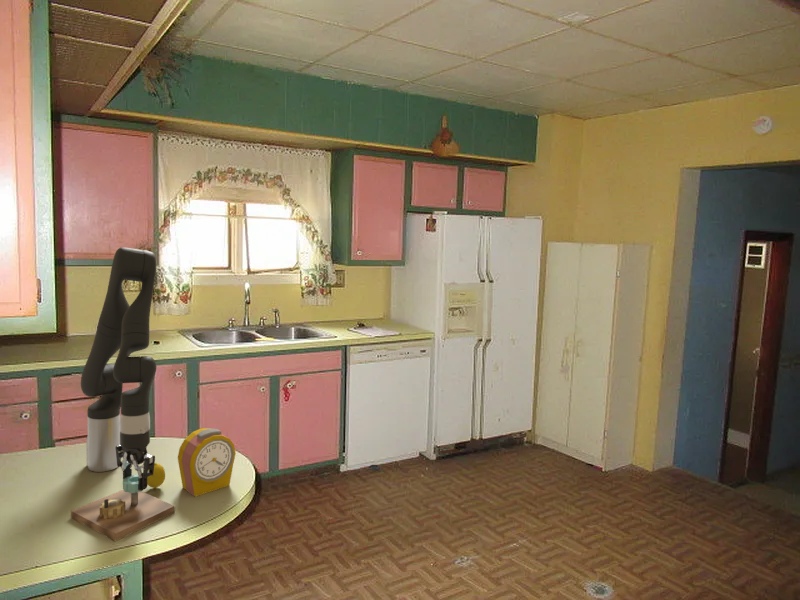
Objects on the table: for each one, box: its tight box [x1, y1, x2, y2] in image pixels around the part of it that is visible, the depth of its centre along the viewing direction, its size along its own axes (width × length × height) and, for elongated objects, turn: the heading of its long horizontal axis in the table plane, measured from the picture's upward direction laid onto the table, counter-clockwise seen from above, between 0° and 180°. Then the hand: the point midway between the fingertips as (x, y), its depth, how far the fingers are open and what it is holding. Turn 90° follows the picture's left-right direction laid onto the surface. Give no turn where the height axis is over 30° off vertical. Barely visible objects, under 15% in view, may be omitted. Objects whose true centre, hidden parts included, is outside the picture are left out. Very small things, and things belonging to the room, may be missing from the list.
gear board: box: [70, 489, 176, 542], centre depth 161 cm, size 19×18×6 cm
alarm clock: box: [177, 427, 236, 497], centre depth 180 cm, size 15×8×18 cm, turn 137°
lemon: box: [147, 462, 166, 489], centre depth 177 cm, size 6×6×8 cm
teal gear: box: [122, 474, 144, 493], centre depth 164 cm, size 6×6×2 cm
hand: (135, 485), depth 164 cm, fingers closed on teal gear, 6 cm apart
